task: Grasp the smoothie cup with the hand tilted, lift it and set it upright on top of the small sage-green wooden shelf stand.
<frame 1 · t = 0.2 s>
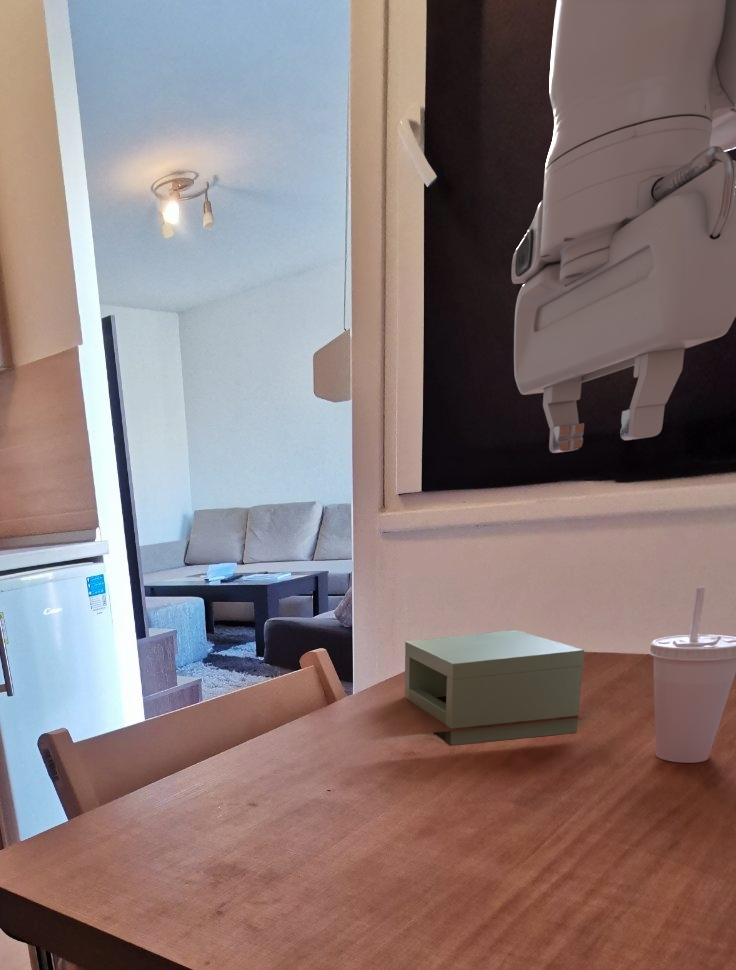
hand: (599, 445, 53), 25 cm above the table, tool pointing down, fingers open, 8 cm apart
smoothie: (681, 758, 64), on the table
shelf: (483, 721, 80), on the table
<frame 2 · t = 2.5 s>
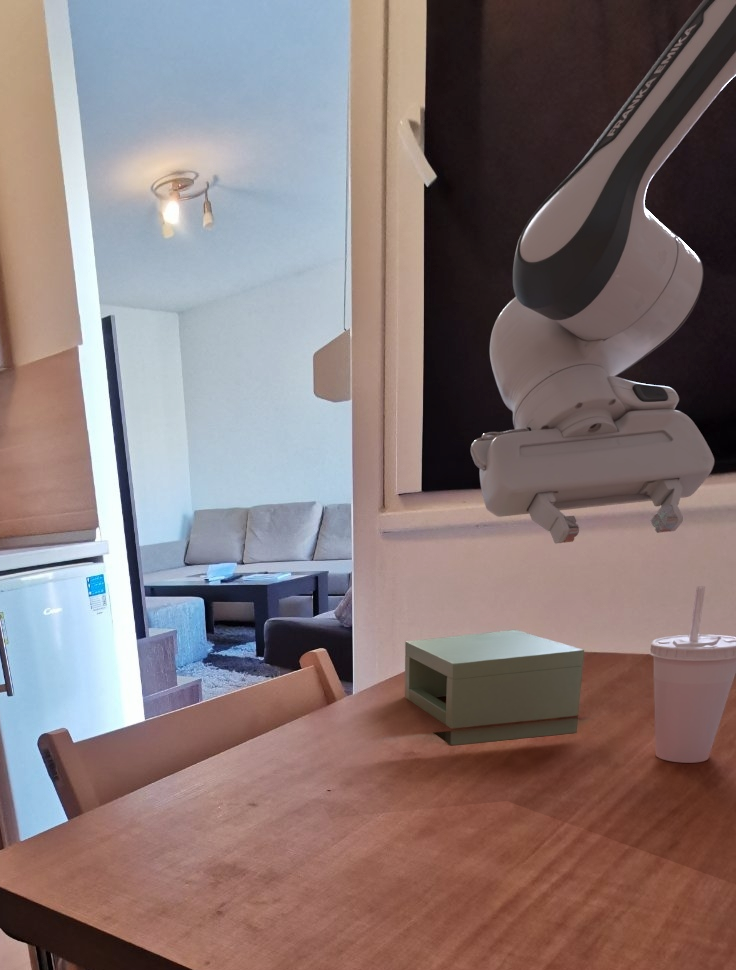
hand: (619, 532, 69), 18 cm above the table, tool tilted 45°, fingers open, 8 cm apart
nothing on the table moved.
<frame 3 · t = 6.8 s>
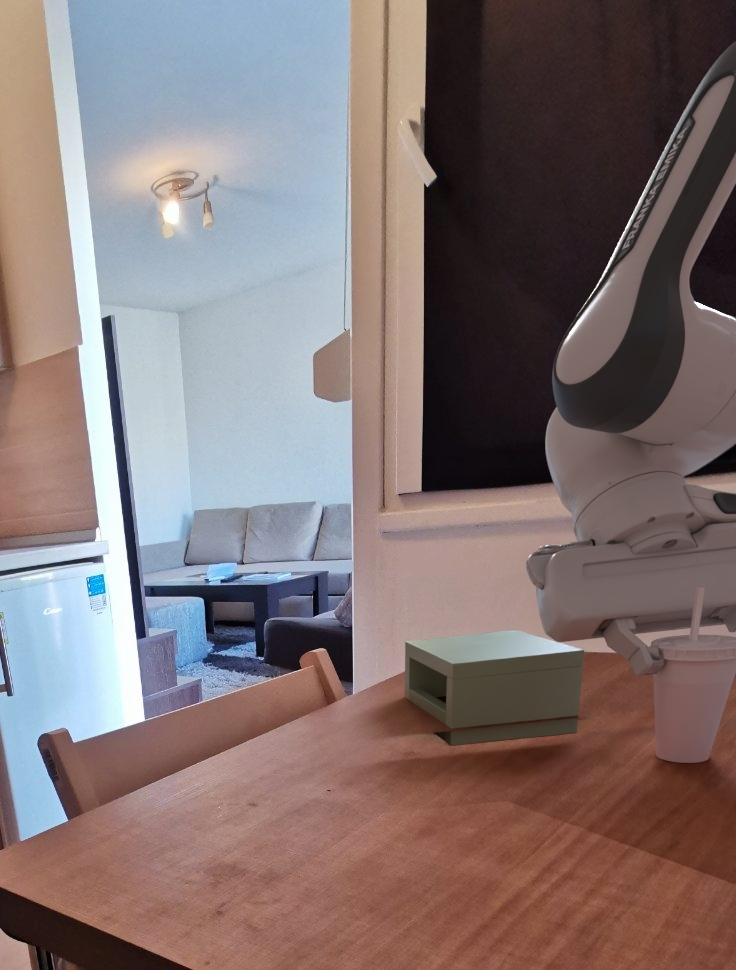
hand: (700, 665, 61), 8 cm above the table, tool tilted 45°, fingers closed on smoothie, 6 cm apart
smoothie: (681, 758, 64), on the table, touching gripper
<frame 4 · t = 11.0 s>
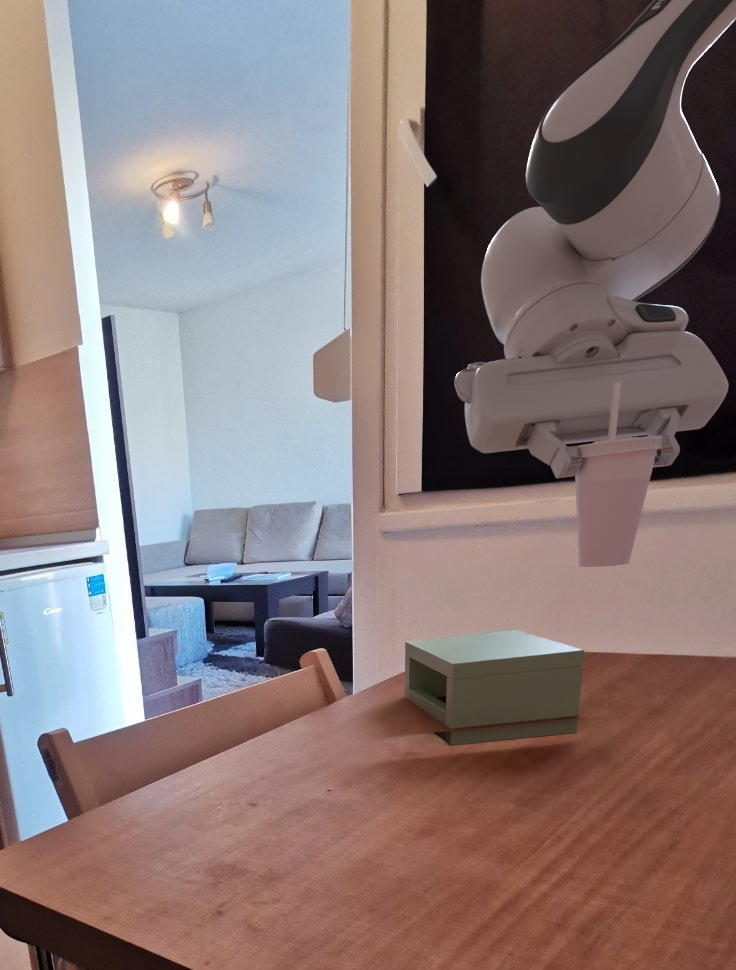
hand: (618, 465, 62), 24 cm above the table, tool tilted 45°, fingers closed on smoothie, 6 cm apart
smoothie: (603, 566, 65), point 16 cm above the table, touching gripper
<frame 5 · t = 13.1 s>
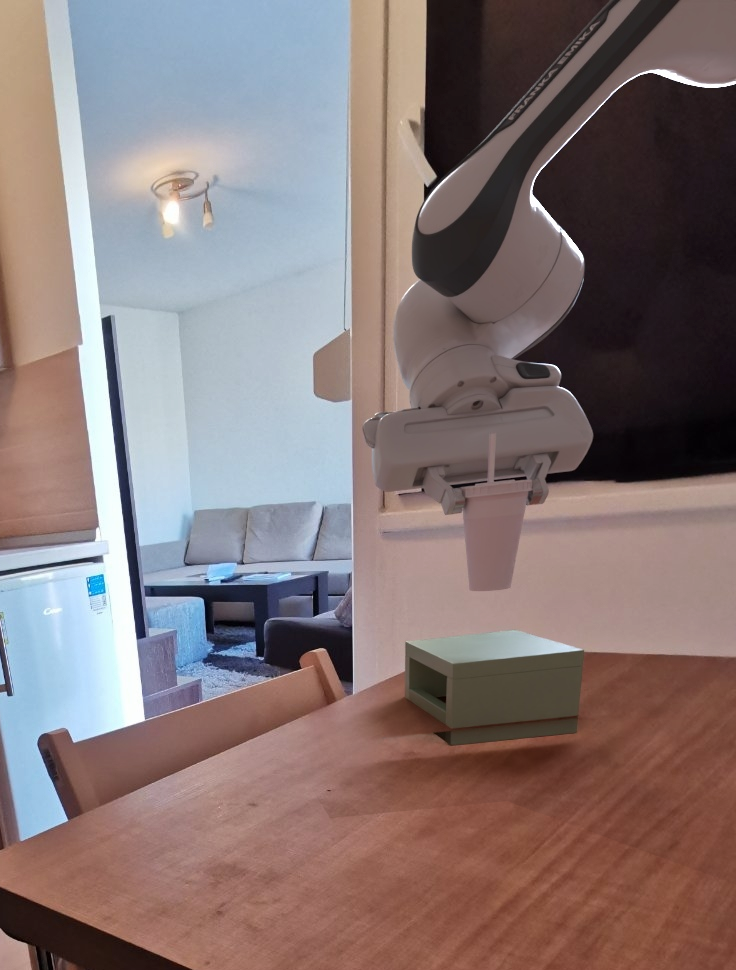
hand: (497, 504, 72), 21 cm above the table, tool tilted 45°, fingers closed on smoothie, 6 cm apart
smoothie: (489, 590, 75), point 13 cm above the table, touching gripper
when the fingers open (16 cm above the table, at t = 15.2 s): smoothie stays where it is, resting on shelf.
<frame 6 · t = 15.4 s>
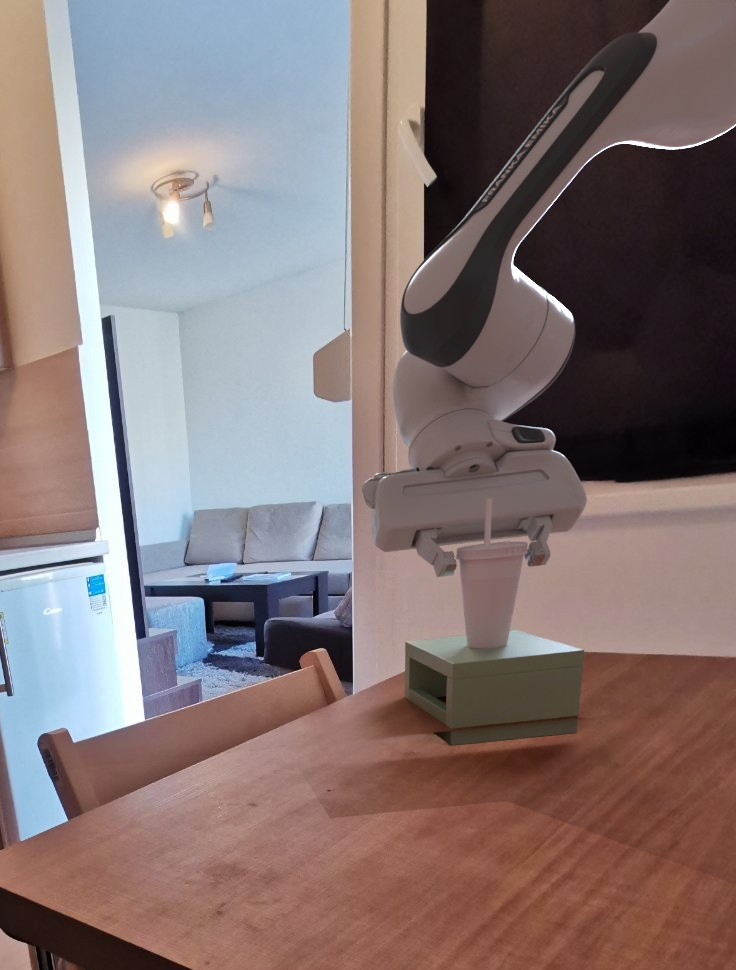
hand: (493, 567, 74), 16 cm above the table, tool tilted 45°, fingers open, 7 cm apart
smoothie: (486, 647, 77), point 8 cm above the table, touching shelf
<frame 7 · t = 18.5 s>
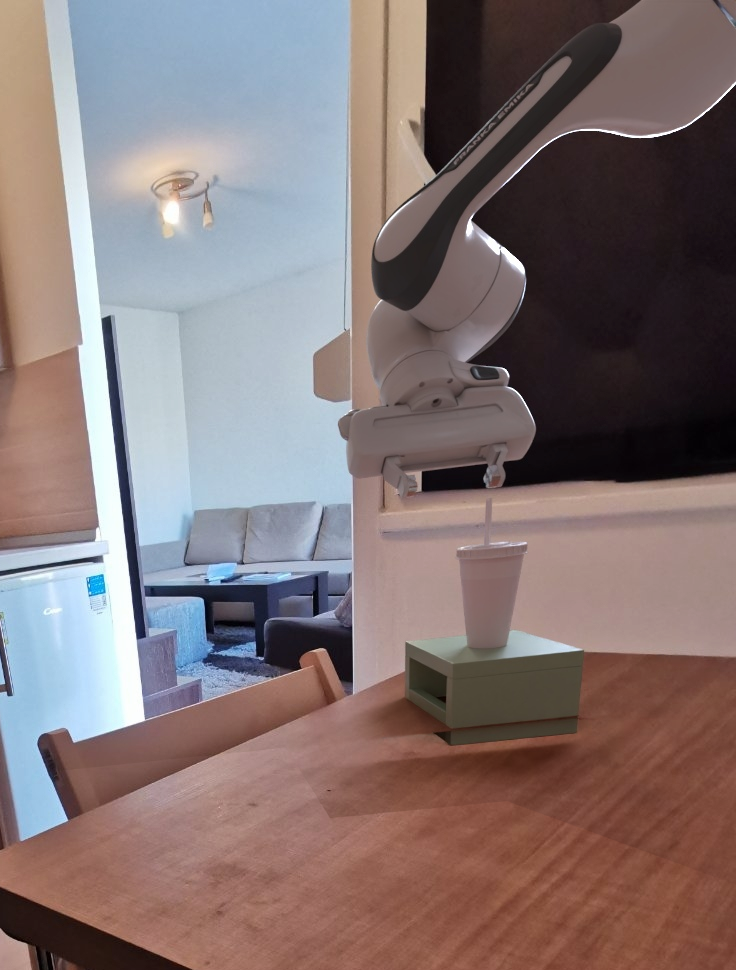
hand: (453, 488, 83), 23 cm above the table, tool tilted 45°, fingers open, 8 cm apart
nothing on the table moved.
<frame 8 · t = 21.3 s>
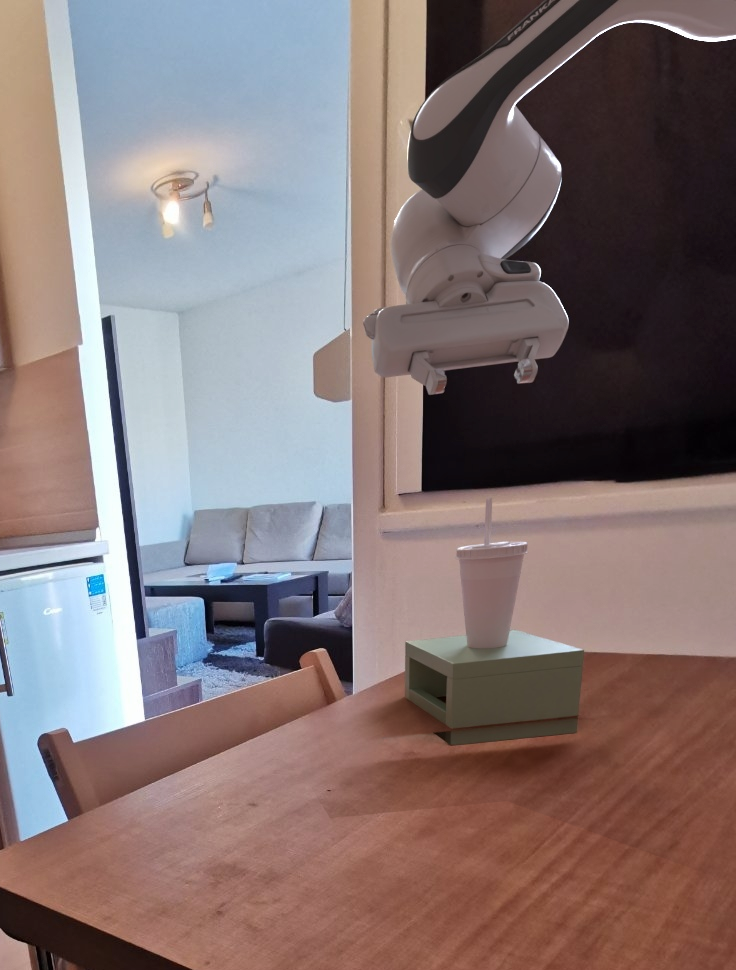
hand: (483, 383, 81), 33 cm above the table, tool tilted 45°, fingers open, 8 cm apart
nothing on the table moved.
at the end: smoothie inside the target area on the shelf (0.0 cm from its centre), point 7.8 cm above the shelf's base; smoothie tilted 0°; the gripper is holding nothing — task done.
